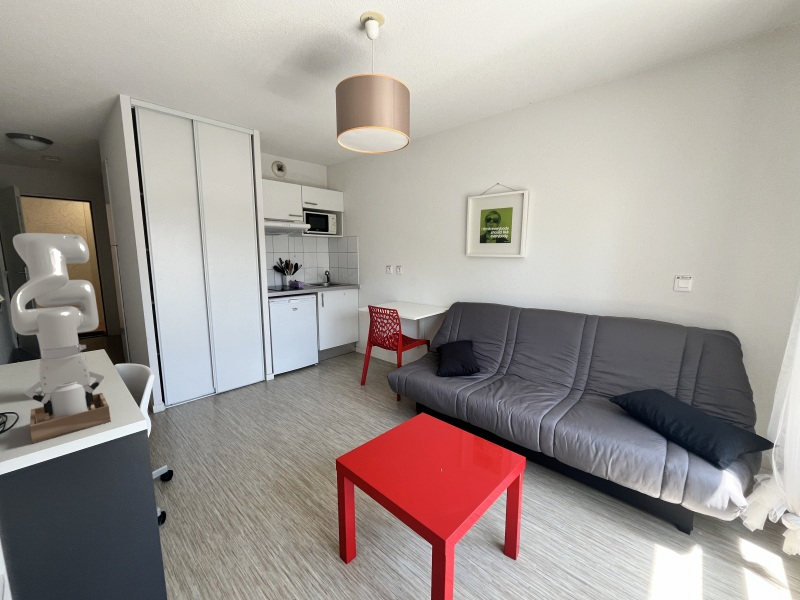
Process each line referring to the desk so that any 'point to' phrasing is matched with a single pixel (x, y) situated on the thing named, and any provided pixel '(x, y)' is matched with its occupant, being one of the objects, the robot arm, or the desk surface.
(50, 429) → the walnut box
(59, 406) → the can
